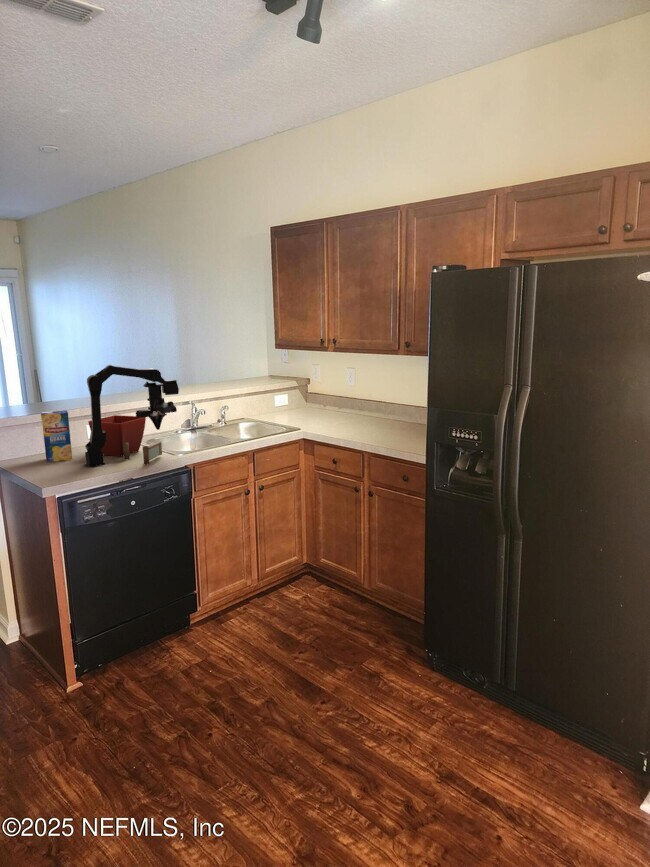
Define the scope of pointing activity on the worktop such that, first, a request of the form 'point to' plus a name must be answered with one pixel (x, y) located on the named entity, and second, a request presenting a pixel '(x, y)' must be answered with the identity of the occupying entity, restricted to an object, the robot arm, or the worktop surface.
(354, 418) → the worktop surface
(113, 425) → the plant pot
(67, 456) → the blue cardboard box
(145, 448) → the gate frame
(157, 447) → the panel
